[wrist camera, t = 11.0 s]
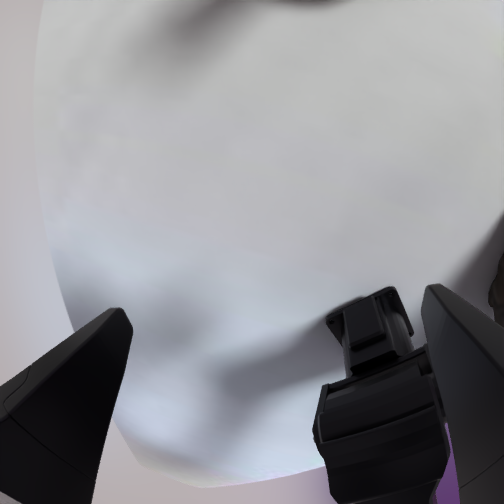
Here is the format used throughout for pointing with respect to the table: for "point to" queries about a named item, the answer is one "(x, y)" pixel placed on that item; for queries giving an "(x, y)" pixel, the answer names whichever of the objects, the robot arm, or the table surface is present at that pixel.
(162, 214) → the table surface
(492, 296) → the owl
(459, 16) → the table surface
